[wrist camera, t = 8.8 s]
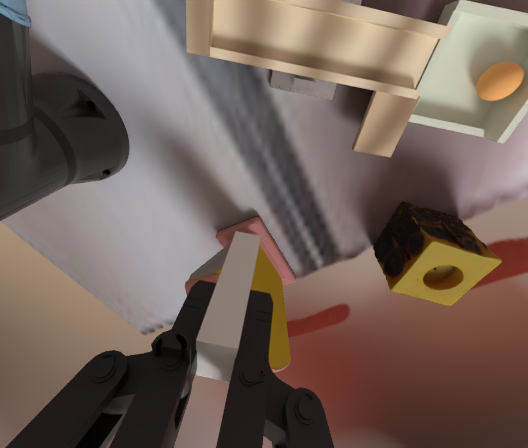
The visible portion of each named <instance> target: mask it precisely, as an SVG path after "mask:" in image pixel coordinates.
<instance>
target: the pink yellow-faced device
mask: <svg viewBox="0 0 528 448" xmlns="http://www.w3.org/2000/svg"><path fill="white" fill-rule="evenodd" d="M236 231H238V232H243V233H248V234H253V235H258V236H261V239H260V244H259V249H258V254H257V259H256V264H255V269H254V274H253V279H252V284H251V289H250V290H255V291H260V292H265V293H270V294H271V297H272V300H273V303H274V304H273V314H272V325H271V336H270V347H269V364H270V367H271V369H272V371H273V373H274V372H278V371H281V370H284V369H285V368H286V367H287V366H288V365H289V364H290V361H291V360H290V352H289V341H288V332H287V323H286V315H285V305H284V295H283V285H287V284H291V283H295V281H296V276H295V275H294V273H293V271H292V270H291V268H290V267H289V265H288V263H287V262H286V260H285V258H284V257H283V255H282V253H281V252H280V250H279V248H278V247H277V245H276V243H275V242H274V240H273V238H272V237H271V235H270V233H269V232H268V230H267V228H266V227H265V225H264V223H263V222H262V220H261V219H260V217H254V218H251V219H249V220H246V221H244V222H241V223H239V224H236V225H234V226H231V227H228V228H226V229H223V230H221V231H218V232H217V234H216V238H217V239H218V241H219V242H220V243H221V245H222V246H223V247H224V248H223V249H222V250H221V251H220V252H218V253H217V254H216V255H215V256H213V257H212V258H211V259H210V260H208V261H207V262H206V263H205V264H204V265H202V266H201V267H200V268H199V269H197V270H196V271H195V272H194V273H192V274H191V276H190V278H189V280H188V281H187V282H186V283H185V289H186V293H187V295H188V293H189V291H190V289H191V287H192V286H193V285H194V284H195V283H196V282H198V281H199V280H203V281H208V282H213V283H217V281H218V279H219V276H220V273H221V270H222V268H223V265H224V262H225V259H226V256H227V254H228V251H229V248H230V245H231V243H232V240H233V237H234V234H235V232H236Z"/></svg>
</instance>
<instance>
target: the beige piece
mask: <svg viewBox="0 0 528 448" xmlns="http://www.w3.org/2000/svg"><path fill="white" fill-rule="evenodd" d="M451 28H452V27H448V26H443V25H439V24H435V23H431V22H427V21H423V20H418V19H414V18H410V17H406V16H402V15H397V14H393V13H389V12H385V11H381V10H377V9H372V8H368V7H364V6H360V5H356V4H351V3H347V2H343V1H339V0H186V29H187V52H188V53H193V54H198V55H202V56H207V57H213V58H218V59H223V60H228V61H233V62H238V63H243V64H247V65H252V66H257V67H262V68H267V69H272V70H277V71H282V72H286V73H291V74H296V75H301V76H306V77H311V78H316V79H320V80H325V81H330V82H335V83H340V84H345V85H350V86H354V87H359V88H364V89H369V90H374V92H373V94H372V97H371V100H370V102H369V105H368V107H367V110H366V113H365V115H364V118H363V120H362V123H361V126H360V128H359V131H358V133H357V136H356V139H355V141H354V144H353V146H352V150H353V151H358V152H363V153H369V154H375V155H380V156H386V157H391V155H392V153H393V151H394V149H395V147H396V145H397V143H398V141H399V139H400V137H401V135H402V133H403V131H404V129H405V127H406V125H407V123H408V121H409V119H410V117H411V115H412V113H413V111H414V109H415V107H416V104H417V102H418V100H419V98H420V96H419V94H420V92H421V91H419V90H415V87H416V85H417V83H418V81H419V79H420V77H421V75H422V73H423V70H424V68H425V66H426V64H427V62H428V60H429V58H430V56H431V53H432V51H433V49H434V47H435V45H436V43H437V41H438V39H445V38H447V36H448V34H449V32H450V30H451Z"/></svg>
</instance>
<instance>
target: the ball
mask: <svg viewBox="0 0 528 448" xmlns="http://www.w3.org/2000/svg"><path fill="white" fill-rule="evenodd" d="M523 76H524V72H523V69H522V67H521V66H520V65H519V64H517V63H515V62H510V61H509V62H501V63H498V64H496V65H493V66H492V67H490V68H489V69H487V70H486V71H485V72H484V73H483V74H482V75H481V76H480V78H479V80H478V82H477V85H476V92H477V94H478V96H479V97H480V98H482V99H484V100H488V101H495V100H499V99H502V98H505V97H507V96H508V95H510V94H511V93H513V92H514V91H515V90H516V89H517V88H518V87H519V85H520V84H521V82H522V80H523Z"/></svg>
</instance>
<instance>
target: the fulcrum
mask: <svg viewBox="0 0 528 448" xmlns="http://www.w3.org/2000/svg"><path fill="white" fill-rule="evenodd" d="M339 1H343V2H347V3H351V4H356V5H361V2H362V0H339ZM336 85H337V83H335V82H330V81H325V80H320V79H316V78H311V77H306V76H301V75H296V74H291V73H286V72H282V71H277V70H273V72H272V78H271V85H270V87H272V88H277V89H282V90H286V91H291V92H296V93H301V94H306V95H310V96H315V97H320V98H325V99H330V100H332V98H333V95H334V91H335V88H336Z"/></svg>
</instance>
